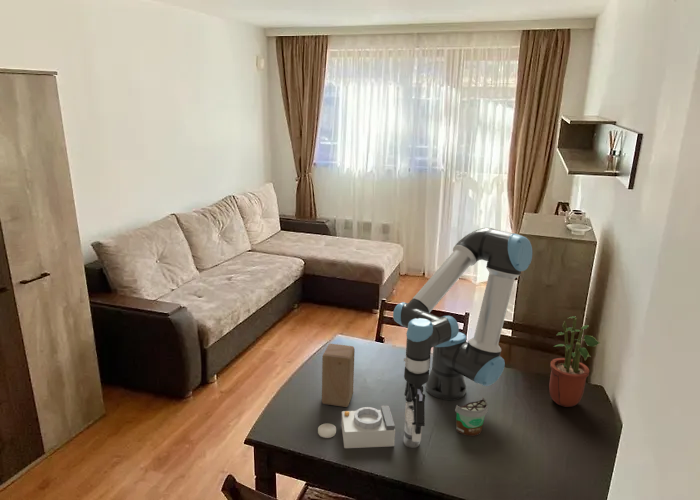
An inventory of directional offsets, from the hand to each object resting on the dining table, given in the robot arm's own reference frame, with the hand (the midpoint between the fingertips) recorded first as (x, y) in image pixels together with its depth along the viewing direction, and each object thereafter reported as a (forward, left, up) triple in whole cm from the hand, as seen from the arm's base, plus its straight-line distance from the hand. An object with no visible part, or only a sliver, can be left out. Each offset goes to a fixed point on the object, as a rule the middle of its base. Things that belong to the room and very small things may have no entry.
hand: (412, 429), depth 160 cm
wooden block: (+22, -26, -5) cm, 34 cm away
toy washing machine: (+14, -4, -5) cm, 15 cm away
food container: (-22, -4, -5) cm, 23 cm away
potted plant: (-63, -21, -5) cm, 67 cm away
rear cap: (+27, -7, -5) cm, 28 cm away
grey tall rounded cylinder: (0, 0, -5) cm, 5 cm away
